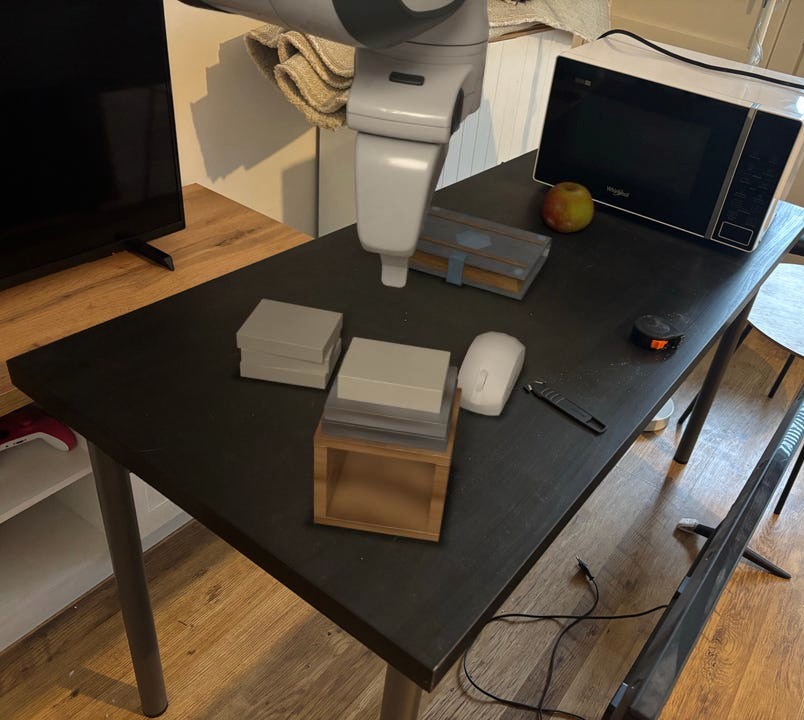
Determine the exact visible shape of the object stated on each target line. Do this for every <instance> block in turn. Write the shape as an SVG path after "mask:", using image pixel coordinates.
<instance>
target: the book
mask: <svg viewBox="0 0 804 720" xmlns="http://www.w3.org/2000/svg"><path fill="white" fill-rule="evenodd" d="M551 246H552V237H550V236H546V235H544V234H543V235H542V234H539V233H536V232H532V231H527V230H524V229H521V228H517V227H513V226H509V225H507V224H502V223H498V222H495V221H491V220H488V219H484V218H480V217H477V216H473V215H470V214H466V213H462V212H458V211H455V210H451V209H447V208H443V207H440V206H437V205H432V204H430V207H429V210H428V213H427V221H426V224H425V227H424V229H423V230H422V231H421V234H420V237H419V240H418V244H417V247H416V250H415V252H414V254H413V255H412V256H410V257H409V258H410V263H409V269H412V270H416V271H420V272H423V273H426V274H430V275H432V276H433V275H434V276H437V277H440V278H442V279H443V278H444V279H446V280H445V282H446V283H449V284H453V285H456V286H460V287H461V286H462V285H463V284H465V285H467V286H471V287H474V288H478V289H481V290H485V291H487V292H492V293H495V294H498V295H502V296H505V297H509V298H513V299H516V300H519V301H522V300H523V298H524V296H525V295H526V293H527V291H528V290H529V288H530V287H531V285H532V283H533V282H534V280H535V278H536V277H537V276H538V274H539V273H540V271H541V269H542V268H543V266H544V264H545V263H546V261H547V260H548V258H549V253H550V250H551Z"/></svg>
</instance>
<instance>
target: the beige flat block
mask: <svg viewBox="0 0 804 720" xmlns="http://www.w3.org/2000/svg"><path fill="white" fill-rule="evenodd" d="M347 350H348V351H347ZM347 350H346V352H347V354H346V353H345V354H346V356H345V355H344V356H345V359H344V358H343V359H344V361H343V360H342V361H343V364H342V363H341V364H342V366H341V365H340V366H341V369H340V368H339V369H340V371H339V370H338V371H339V374H338V373H337V374H338V385H337V398H342V399H348V400H355V401H361V402H368V403H374V404H381V405H387V406H394V407H400V408H406V409H413V410H419V411H426V412H432V413H440V411H441V406H442V401H443V396H444V391H445V386H446V381H447V376H448V369H449V366H450V362H451V354H452V353H451V351H447V350H440V349H433V348H428V347H421V346H415V345H409V344H408V345H407V344H401V343H395V342H390V341H389V342H388V341H383V340H376V339H369V338H364V337H356V336H353V337H352V338H351V342H350V344H349V346H348V349H347Z"/></svg>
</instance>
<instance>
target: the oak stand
mask: <svg viewBox="0 0 804 720" xmlns="http://www.w3.org/2000/svg"><path fill="white" fill-rule="evenodd" d="M347 351H348V349H346V351H345V354H344V357H343V359H342V362H341V364H340V366H339V369H338V371H337V374H336V376H335V378H334V381H333V383H332V386H331V389H330V391H329V393H328V396H327V398H326V400H325V403H324V406H323V413H322V414H321V415H322V416H321V418H320V420H319V421H318V425H317V427H316V430H315V432H314V435H313V523H314V524H321V525H327V526H334V527H340V528H346V529H352V530H359V531H366V532H373V533H379V534H385V535H391V536H392V535H393V536H399V537H405V538H412V539H418V540H424V541H425V540H426V541H431V542H437V543H438V542H439V539H440V533H441V527H442V521H443V516H444V510H445V503H446V496H447V490H448V485H449V479H450V474H451V473H450V472H451V468H452V467H451V466H452V459H453V453H454V446H455V440H456V433H457V428H458V427H457V426H458V421H459V420H458V419H459V413H460V408H461V407H460V400H461V394H462V388H457V385H458V379H457V377H458V370H459V367H458V366H453V365H449V369H448V376H447V381H446V386H445V391H444V396H443V401H442V406H441V411H440V413H432V412H426V411H419V410H413V409H406V408H400V407H394V406H387V405H381V404H374V403H368V402H361V401H355V400H348V399H342V398H337V385H338V374H339V371H340V369H341V366H342V364H343V361H344V359H345V356H346V354H347Z"/></svg>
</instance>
